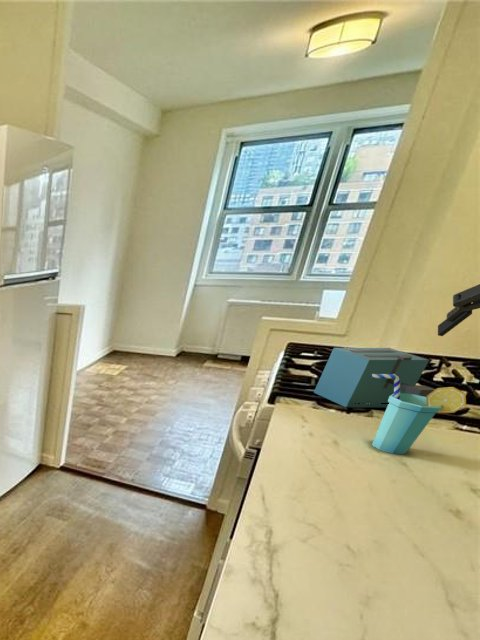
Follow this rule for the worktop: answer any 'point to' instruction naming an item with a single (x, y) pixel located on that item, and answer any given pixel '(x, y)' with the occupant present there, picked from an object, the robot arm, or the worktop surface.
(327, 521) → the worktop surface
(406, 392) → the toaster lever
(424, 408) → the cup
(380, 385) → the toaster
